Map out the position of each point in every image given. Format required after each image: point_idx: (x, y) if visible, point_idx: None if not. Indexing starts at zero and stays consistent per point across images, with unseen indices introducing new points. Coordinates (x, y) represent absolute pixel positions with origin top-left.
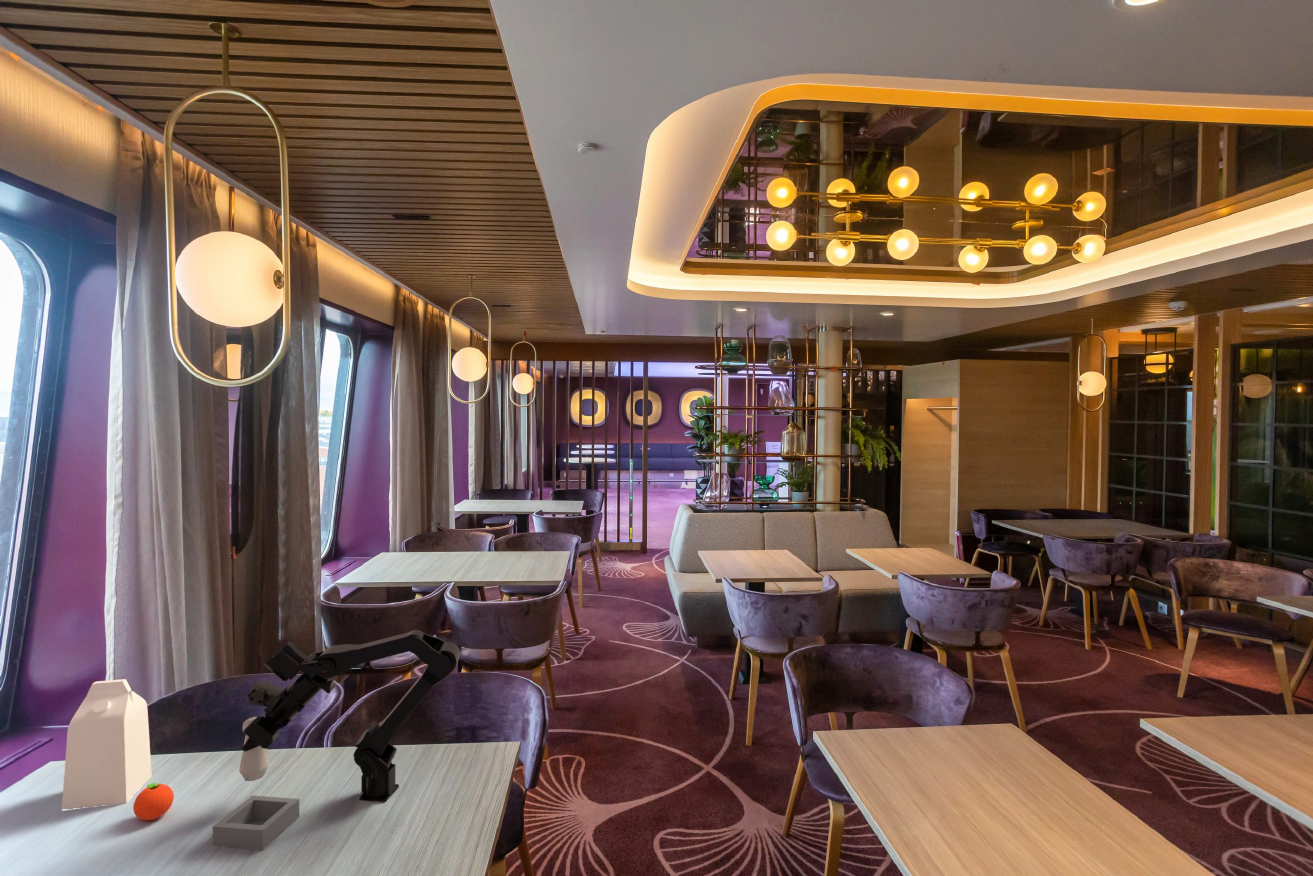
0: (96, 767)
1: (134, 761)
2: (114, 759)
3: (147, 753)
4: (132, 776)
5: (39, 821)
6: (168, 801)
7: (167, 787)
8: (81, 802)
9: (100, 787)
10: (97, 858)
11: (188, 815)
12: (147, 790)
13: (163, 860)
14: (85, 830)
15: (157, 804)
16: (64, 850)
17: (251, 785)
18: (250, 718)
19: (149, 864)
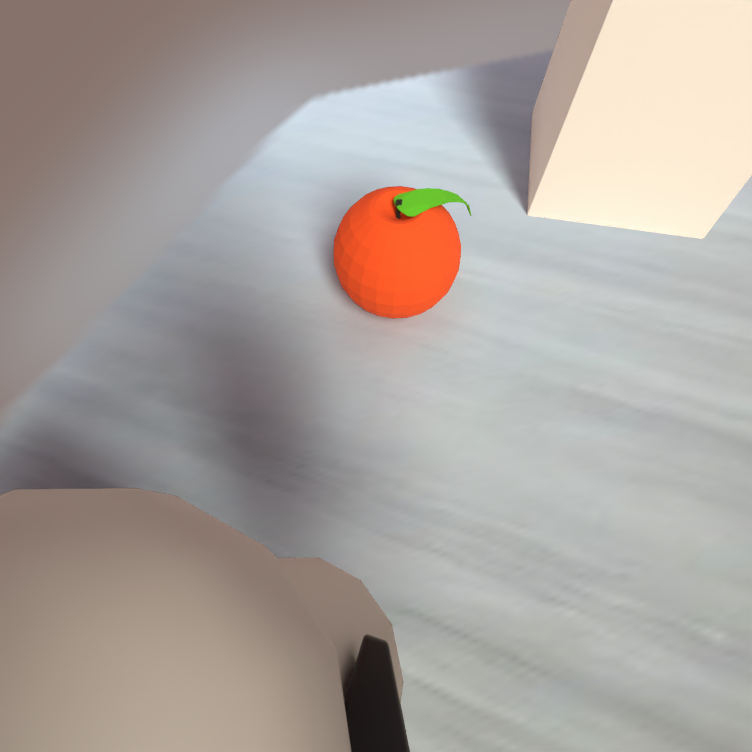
0: (580, 25)
1: (646, 112)
2: (592, 28)
3: (748, 144)
4: (601, 159)
5: (496, 91)
6: (363, 293)
7: (402, 254)
8: (537, 121)
9: (550, 111)
10: (225, 219)
11: (356, 390)
12: (380, 194)
13: (78, 369)
14: (402, 169)
15: (338, 262)
16: (317, 156)
17: (532, 616)
18: (112, 702)
19: (86, 336)
